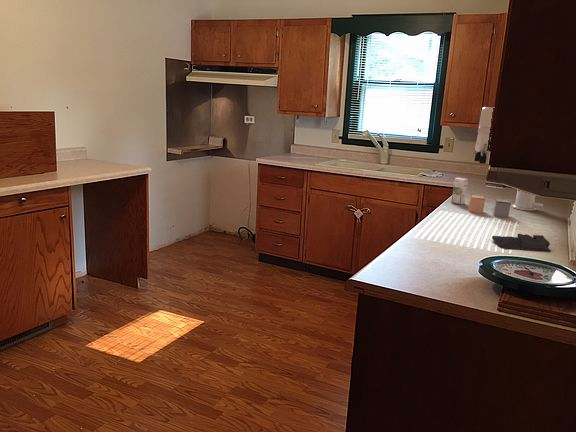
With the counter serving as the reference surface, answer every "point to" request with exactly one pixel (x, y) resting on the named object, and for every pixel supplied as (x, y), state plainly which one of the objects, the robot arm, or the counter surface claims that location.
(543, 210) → the counter surface
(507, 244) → the dark slate chunk
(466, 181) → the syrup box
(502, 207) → the gray block
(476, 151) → the robot arm
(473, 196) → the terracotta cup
